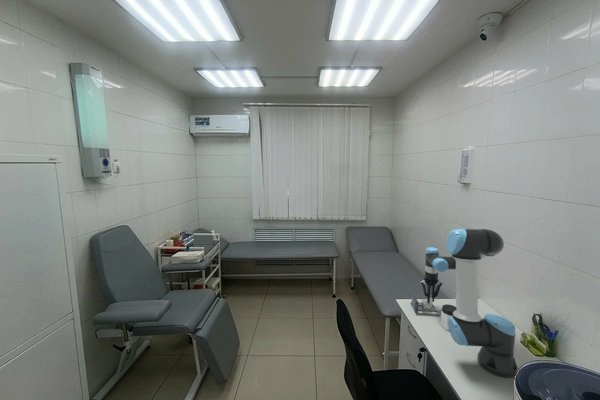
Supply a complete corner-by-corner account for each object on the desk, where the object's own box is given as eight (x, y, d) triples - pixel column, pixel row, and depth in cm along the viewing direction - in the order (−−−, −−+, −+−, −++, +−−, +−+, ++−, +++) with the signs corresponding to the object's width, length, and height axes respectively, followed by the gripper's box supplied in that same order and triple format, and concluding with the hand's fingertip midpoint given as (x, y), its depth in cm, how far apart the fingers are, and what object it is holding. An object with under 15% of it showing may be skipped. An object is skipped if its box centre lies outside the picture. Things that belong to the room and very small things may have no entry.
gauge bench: (439, 316, 166) (440, 305, 165) (416, 315, 169) (416, 304, 168) (432, 304, 180) (432, 294, 179) (410, 303, 182) (410, 293, 181)
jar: (454, 333, 149) (455, 313, 148) (439, 327, 155) (439, 308, 154) (459, 326, 156) (460, 307, 154) (444, 321, 161) (445, 302, 160)
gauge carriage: (432, 312, 168) (432, 306, 167) (425, 311, 169) (425, 305, 168) (427, 305, 176) (428, 299, 176) (421, 305, 177) (421, 299, 176)
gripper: (440, 269, 173) (438, 303, 176) (419, 269, 175) (418, 302, 178) (444, 274, 166) (443, 309, 169) (422, 273, 168) (421, 308, 171)
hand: (430, 306), depth 174 cm, fingers closed
